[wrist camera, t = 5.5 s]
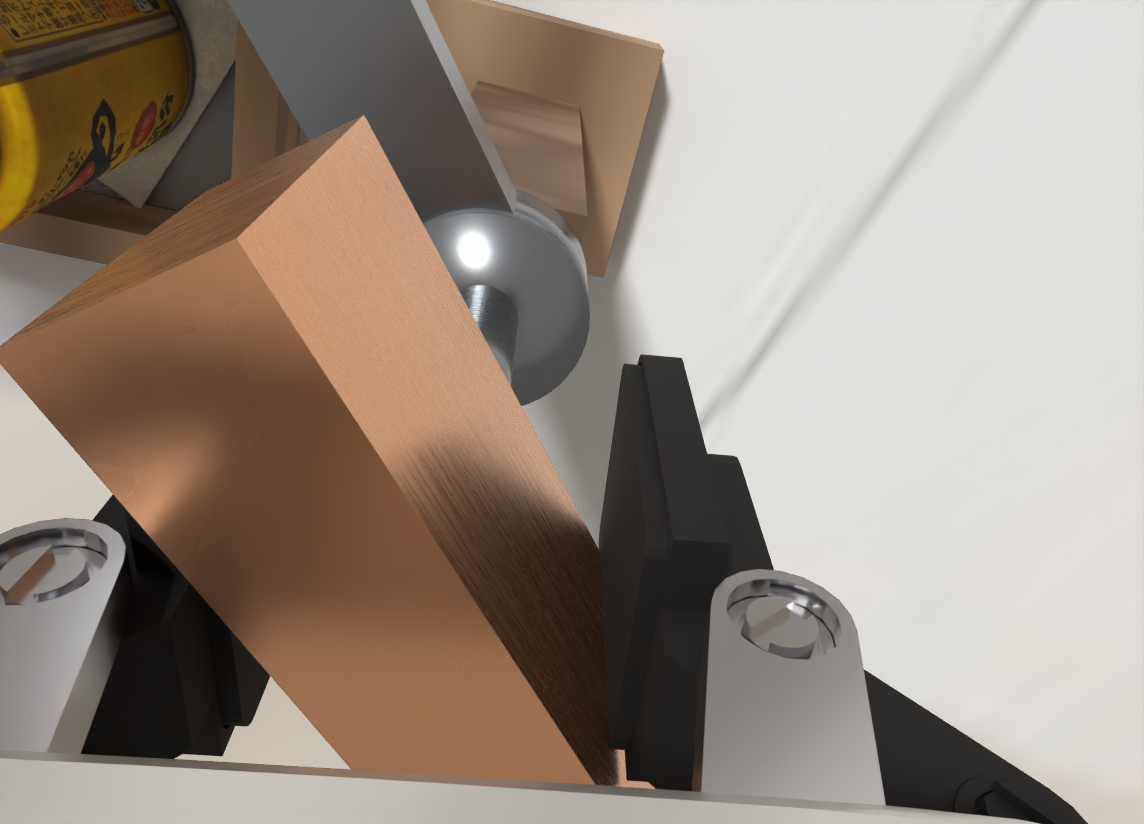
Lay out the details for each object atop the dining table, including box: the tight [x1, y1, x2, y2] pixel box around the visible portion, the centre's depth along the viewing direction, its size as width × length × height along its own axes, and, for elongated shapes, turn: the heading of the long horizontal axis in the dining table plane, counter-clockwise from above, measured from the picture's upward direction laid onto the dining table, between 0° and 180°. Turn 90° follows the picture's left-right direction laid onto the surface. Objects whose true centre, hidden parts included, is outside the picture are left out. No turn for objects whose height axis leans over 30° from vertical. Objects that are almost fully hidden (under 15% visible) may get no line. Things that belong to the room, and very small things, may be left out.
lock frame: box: [0, 0, 664, 277], centre depth 21 cm, size 24×12×12 cm, turn 77°
